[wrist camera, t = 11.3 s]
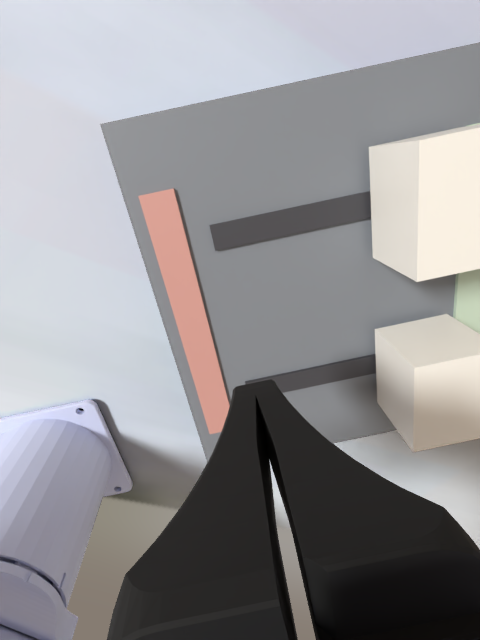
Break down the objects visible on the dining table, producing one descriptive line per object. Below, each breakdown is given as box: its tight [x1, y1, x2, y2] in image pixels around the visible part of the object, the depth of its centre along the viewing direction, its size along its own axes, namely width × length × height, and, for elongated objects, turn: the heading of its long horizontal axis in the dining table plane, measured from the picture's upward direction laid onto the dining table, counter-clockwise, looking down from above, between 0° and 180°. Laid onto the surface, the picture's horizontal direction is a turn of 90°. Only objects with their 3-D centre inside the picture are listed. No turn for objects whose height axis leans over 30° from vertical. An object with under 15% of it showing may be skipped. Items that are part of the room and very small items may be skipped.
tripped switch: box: [369, 124, 480, 282], centre depth 14 cm, size 4×5×4 cm
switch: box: [375, 314, 480, 452], centre depth 18 cm, size 4×5×4 cm
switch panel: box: [100, 43, 480, 462], centre depth 19 cm, size 18×20×2 cm
